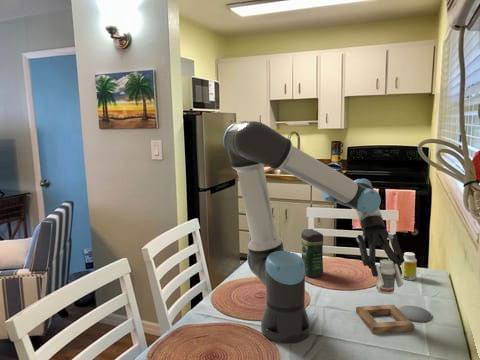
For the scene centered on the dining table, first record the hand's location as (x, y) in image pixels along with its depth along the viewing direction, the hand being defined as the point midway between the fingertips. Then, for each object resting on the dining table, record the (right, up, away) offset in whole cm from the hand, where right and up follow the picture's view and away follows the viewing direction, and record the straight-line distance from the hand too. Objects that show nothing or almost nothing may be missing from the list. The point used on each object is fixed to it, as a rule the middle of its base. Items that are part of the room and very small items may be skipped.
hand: (391, 285), depth 118 cm
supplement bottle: (+22, -8, +38) cm, 45 cm away
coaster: (+11, -12, +10) cm, 19 cm away
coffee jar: (-16, -7, +45) cm, 48 cm away
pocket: (0, -13, +6) cm, 14 cm away
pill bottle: (0, -3, +4) cm, 5 cm away
